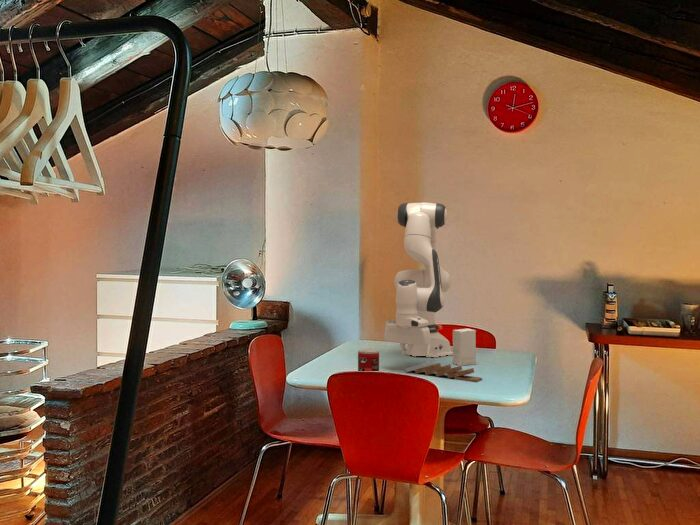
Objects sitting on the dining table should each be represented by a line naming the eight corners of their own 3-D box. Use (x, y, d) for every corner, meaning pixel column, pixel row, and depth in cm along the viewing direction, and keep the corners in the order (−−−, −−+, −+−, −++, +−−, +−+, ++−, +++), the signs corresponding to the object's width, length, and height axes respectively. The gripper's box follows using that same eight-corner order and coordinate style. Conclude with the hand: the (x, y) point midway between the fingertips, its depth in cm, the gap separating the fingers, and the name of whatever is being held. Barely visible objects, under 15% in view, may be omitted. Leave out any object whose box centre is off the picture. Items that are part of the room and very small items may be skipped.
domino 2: (414, 369, 283) (433, 364, 278) (421, 367, 287) (439, 362, 282) (416, 373, 283) (434, 368, 278) (422, 371, 287) (441, 366, 281)
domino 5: (447, 374, 274) (467, 369, 269) (452, 372, 278) (473, 368, 273) (448, 378, 274) (468, 374, 269) (453, 376, 278) (474, 372, 273)
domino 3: (424, 371, 280) (443, 366, 275) (431, 369, 284) (450, 364, 279) (425, 375, 280) (444, 370, 275) (432, 373, 284) (451, 368, 279)
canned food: (357, 377, 276) (357, 348, 276) (377, 376, 277) (377, 348, 276) (359, 381, 268) (359, 352, 268) (380, 380, 269) (380, 351, 269)
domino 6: (454, 377, 272) (476, 379, 267) (460, 374, 276) (482, 377, 271) (454, 381, 272) (476, 384, 267) (460, 379, 276) (482, 381, 271)
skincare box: (468, 362, 308) (468, 328, 308) (476, 364, 303) (476, 329, 302) (451, 363, 305) (452, 329, 304) (460, 366, 299) (460, 330, 299)
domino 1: (405, 368, 286) (423, 363, 281) (411, 366, 290) (429, 361, 285) (406, 372, 286) (424, 367, 280) (412, 370, 290) (431, 365, 284)
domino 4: (435, 372, 277) (455, 367, 272) (441, 370, 281) (461, 365, 276) (436, 376, 277) (456, 371, 271) (443, 374, 281) (462, 369, 275)
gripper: (381, 319, 292) (380, 353, 292) (423, 323, 279) (423, 358, 280) (389, 318, 297) (389, 351, 297) (432, 321, 284) (432, 356, 285)
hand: (406, 354), depth 288 cm, fingers closed
